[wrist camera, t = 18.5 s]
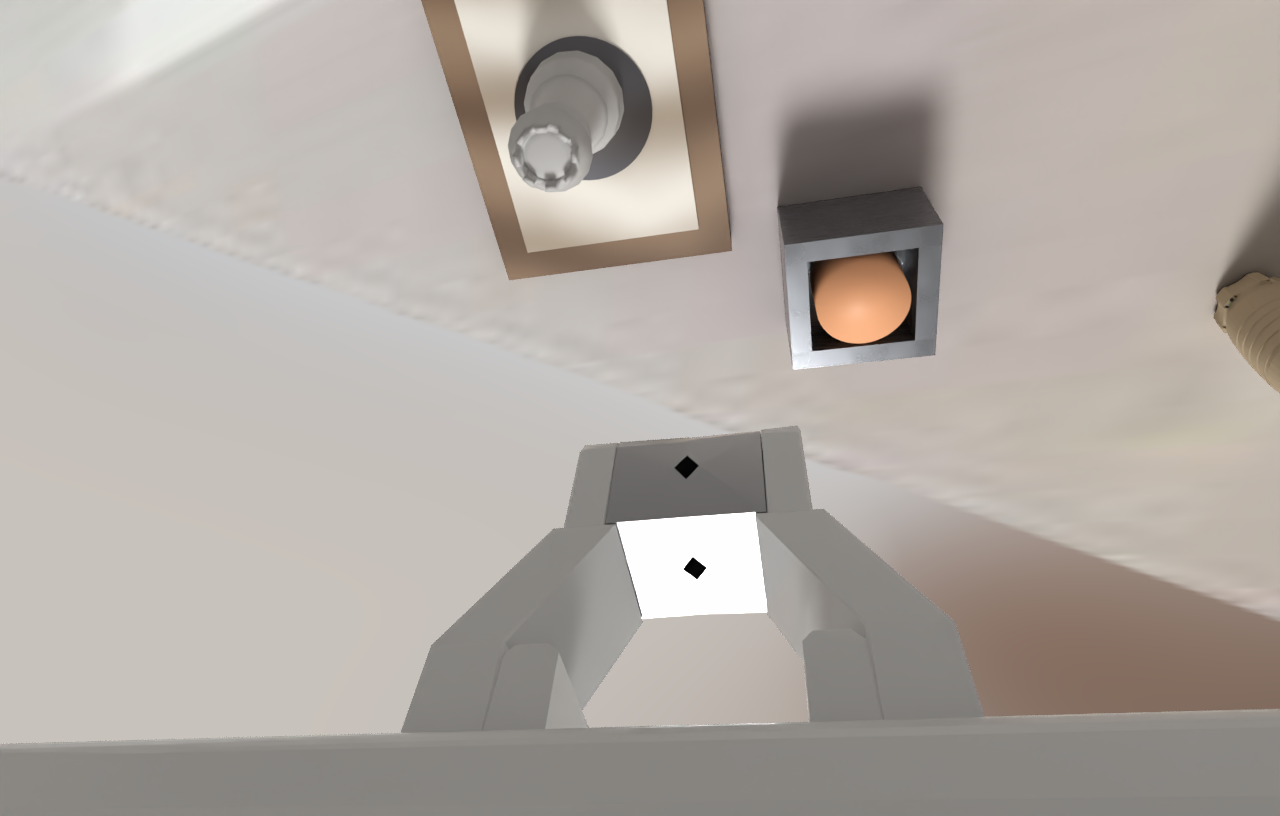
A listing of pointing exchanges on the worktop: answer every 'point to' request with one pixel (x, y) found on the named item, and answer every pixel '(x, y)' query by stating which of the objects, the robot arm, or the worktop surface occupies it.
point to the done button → (860, 296)
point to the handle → (1254, 322)
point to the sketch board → (632, 160)
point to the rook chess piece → (565, 120)
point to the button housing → (852, 232)
